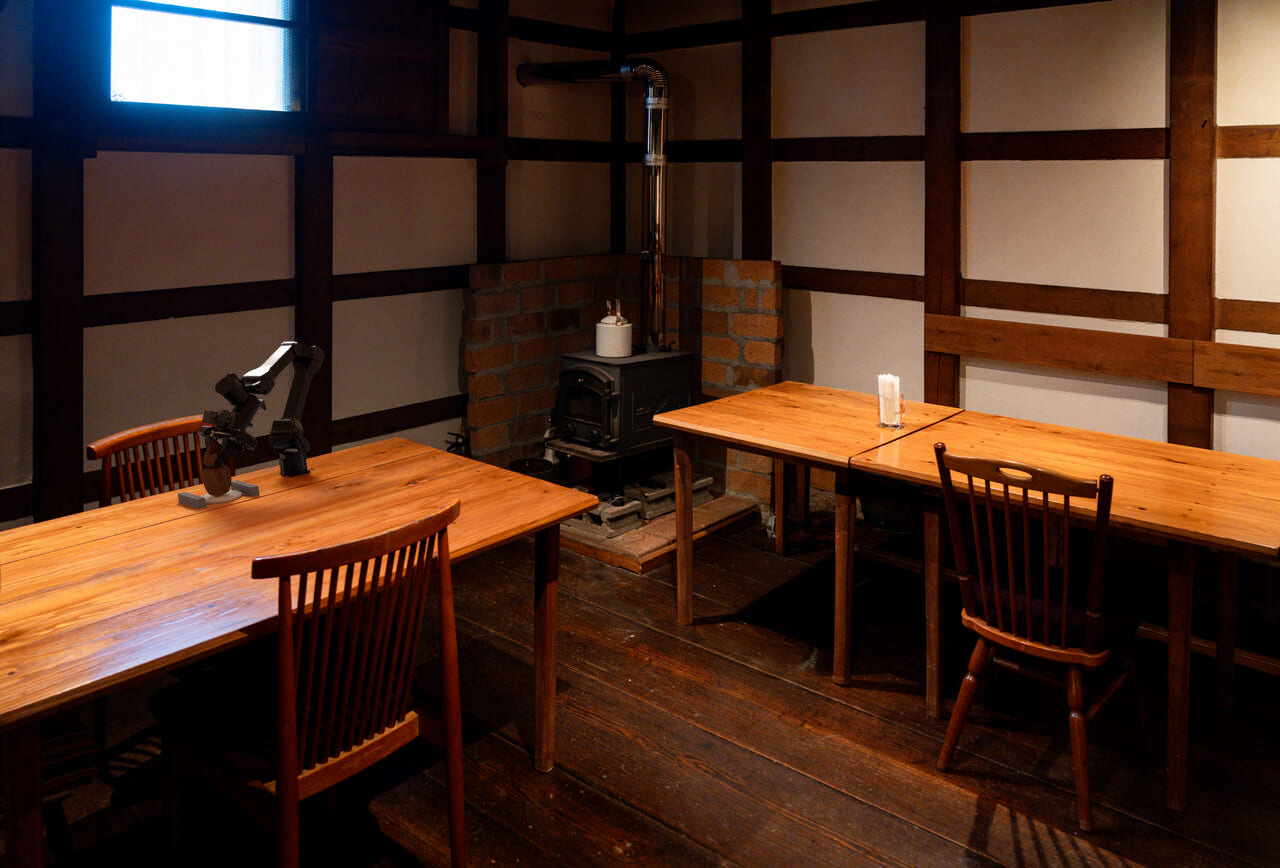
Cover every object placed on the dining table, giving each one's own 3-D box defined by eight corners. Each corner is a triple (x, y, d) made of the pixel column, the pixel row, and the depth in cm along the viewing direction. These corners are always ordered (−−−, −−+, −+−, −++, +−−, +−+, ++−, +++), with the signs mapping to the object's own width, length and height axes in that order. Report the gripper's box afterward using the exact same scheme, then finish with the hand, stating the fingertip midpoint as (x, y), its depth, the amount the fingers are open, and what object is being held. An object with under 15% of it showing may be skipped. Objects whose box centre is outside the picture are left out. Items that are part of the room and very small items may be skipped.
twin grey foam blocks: (238, 488, 265) (237, 480, 265) (259, 494, 257) (258, 485, 257) (178, 502, 254) (177, 493, 253) (198, 509, 246) (197, 499, 245)
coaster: (230, 491, 263) (230, 488, 263) (249, 496, 256) (248, 493, 255) (189, 500, 255) (188, 497, 255) (207, 506, 248) (207, 503, 248)
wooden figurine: (225, 489, 260) (217, 434, 257) (237, 492, 256) (229, 436, 253) (201, 495, 255) (192, 439, 252) (212, 498, 251) (203, 441, 248)
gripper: (198, 395, 259) (165, 445, 252) (240, 399, 248) (206, 451, 242) (230, 419, 267) (198, 468, 260) (271, 423, 256) (239, 474, 250)
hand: (209, 464), depth 253 cm, fingers closed on wooden figurine, 5 cm apart
